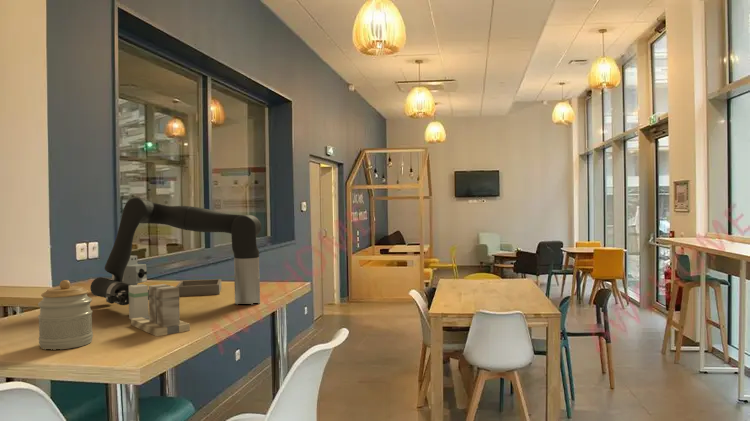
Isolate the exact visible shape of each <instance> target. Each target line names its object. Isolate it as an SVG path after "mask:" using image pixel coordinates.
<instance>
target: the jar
mask: <svg viewBox="0 0 750 421" xmlns="http://www.w3.org/2000/svg"><path fill="white" fill-rule="evenodd" d="M88 293H89V290H88V289H86V288H85V287H83V286H78V285H77V286H76V285H75V286H74V285H72V286H71V282H70V281H69V279H64V280H61V281H60V283H59V287H58V286H57V287H52V288H48V289H46V290H45V291H44V292H43V293H41V295H40V296H41V297H42V299H41V300H40V301H39V302H38V303H37V306H38V307H39V314H38V315H37V318H38V331H39V332H38V334H39V336H38V345H39V348H40V347H41V348H40V349H42V348H43V349H42V350H46V349H51V350H50V351H52V349H53V351H57V350H56V349H60V350H67V349H69V350H70V349H74V348H79V347H84V346H87V345H89V344H90V343H92V342H93V337H94V332H93V309H91V302H92V301H93V298H92V297H90V296H88Z"/></svg>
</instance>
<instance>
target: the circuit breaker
mask: <svg viewBox="0 0 750 421" xmlns="http://www.w3.org/2000/svg"><path fill="white" fill-rule="evenodd" d="M147 274H148V270H147V264H146V263H144V264H143V263H138V255H131V256H130V259H129V261H128V264H127V266H126V269H125V271H124V275H123V281H122V282H123V283H127V284H130V285H139V284H140V283H141V284H142V283H144V282H148V278H147V277H148V275H147ZM111 280H114V275H113V274H111Z"/></svg>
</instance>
